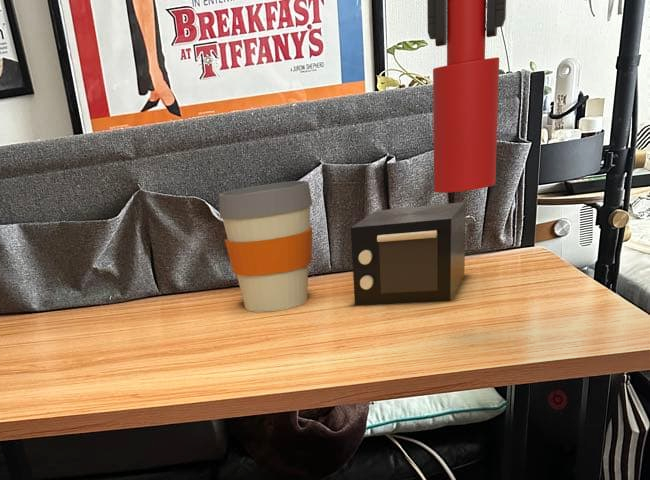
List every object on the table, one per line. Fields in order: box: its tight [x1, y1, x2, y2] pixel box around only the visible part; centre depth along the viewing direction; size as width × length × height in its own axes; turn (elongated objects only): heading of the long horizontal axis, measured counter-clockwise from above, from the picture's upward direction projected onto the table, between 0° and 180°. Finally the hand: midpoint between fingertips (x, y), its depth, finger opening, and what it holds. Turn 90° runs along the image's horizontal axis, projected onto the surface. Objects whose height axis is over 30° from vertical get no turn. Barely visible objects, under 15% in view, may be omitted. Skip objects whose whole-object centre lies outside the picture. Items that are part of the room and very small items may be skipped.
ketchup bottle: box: [432, 0, 500, 194], centre depth 64 cm, size 6×6×16 cm
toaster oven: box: [350, 201, 467, 307], centre depth 94 cm, size 12×15×10 cm
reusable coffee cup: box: [218, 180, 313, 313], centre depth 99 cm, size 13×13×15 cm
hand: (466, 39), depth 63 cm, fingers closed on ketchup bottle, 3 cm apart
